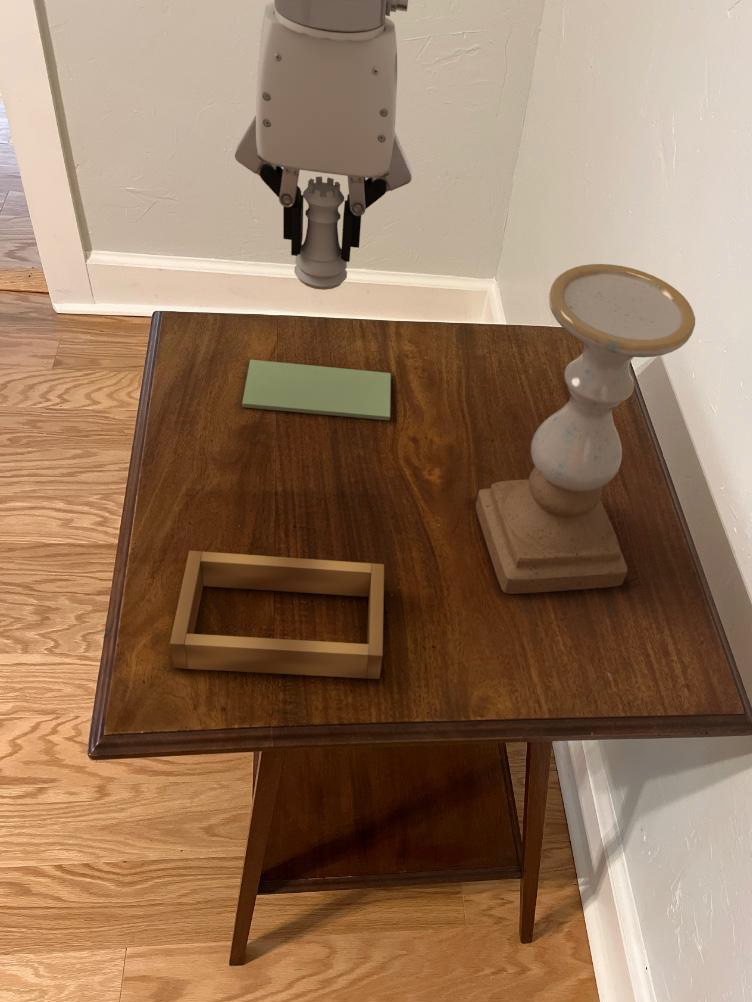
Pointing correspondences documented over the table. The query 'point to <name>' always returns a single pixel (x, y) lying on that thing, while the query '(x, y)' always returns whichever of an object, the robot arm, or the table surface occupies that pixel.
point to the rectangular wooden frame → (278, 652)
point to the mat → (317, 390)
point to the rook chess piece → (321, 237)
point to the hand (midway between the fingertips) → (321, 248)
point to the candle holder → (581, 435)
